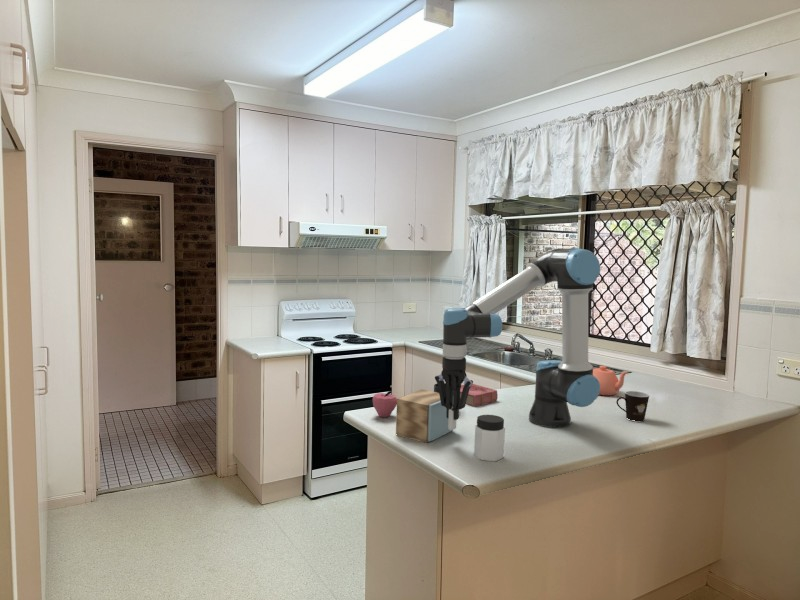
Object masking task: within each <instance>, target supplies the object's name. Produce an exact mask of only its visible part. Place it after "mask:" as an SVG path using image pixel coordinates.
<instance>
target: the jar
mask: <svg viewBox="0 0 800 600" xmlns="http://www.w3.org/2000/svg"><path fill="white" fill-rule="evenodd" d="M504 424H505V419H504V418H503V417H502V416H499V415H494V414H481V415H479V416H477V418H476V425H474V426H475V427H474V428H475V429H474V445H473V446H474V447H473V448H474V451H473V455H474V456H475V457H477V458H478V459H479V460H480V461H487V462H498V461H500V460H502V459H503V458H504V455H505V453H504V452H505V437H506V434H505V433H506V427H504V426H505V425H504Z"/></svg>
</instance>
